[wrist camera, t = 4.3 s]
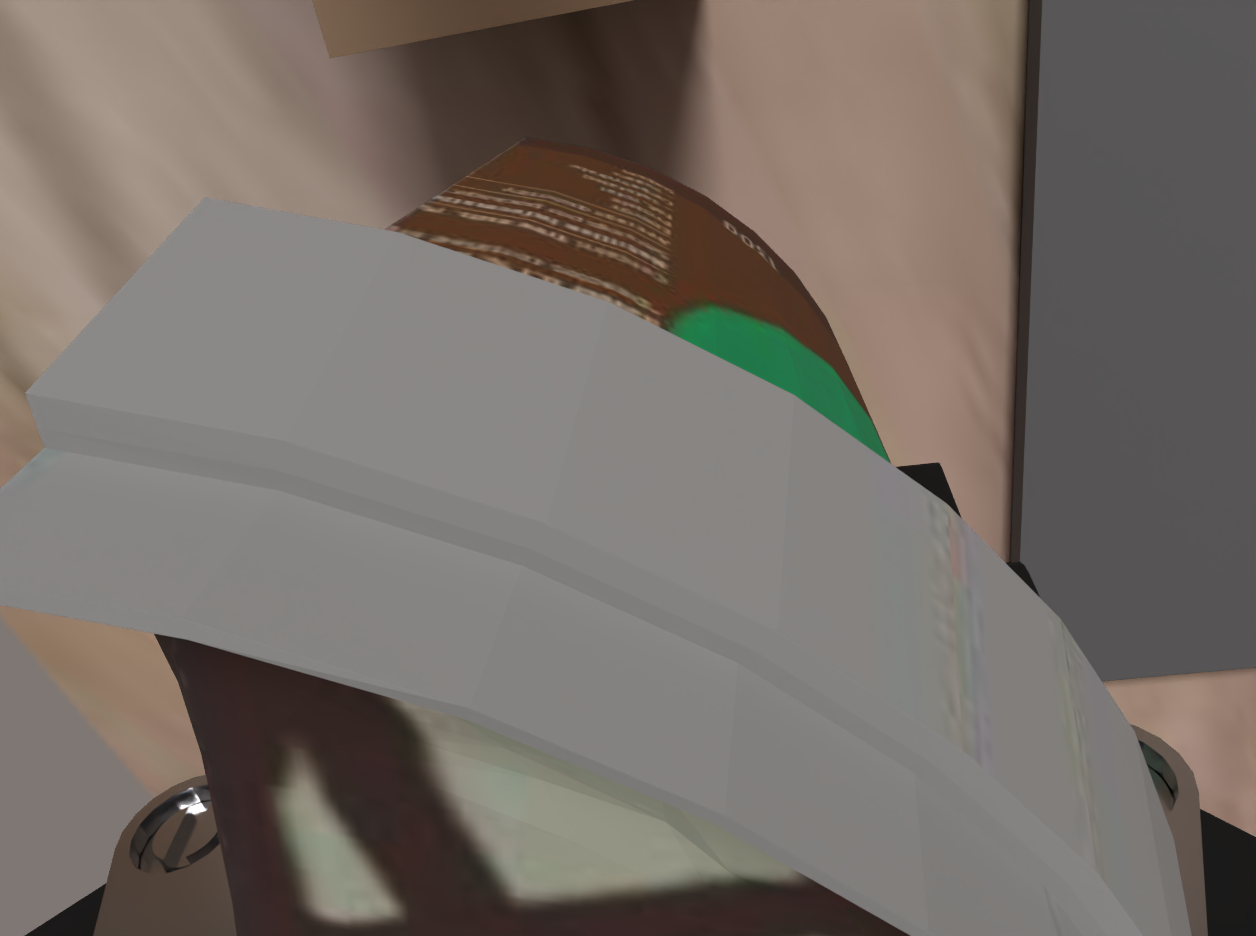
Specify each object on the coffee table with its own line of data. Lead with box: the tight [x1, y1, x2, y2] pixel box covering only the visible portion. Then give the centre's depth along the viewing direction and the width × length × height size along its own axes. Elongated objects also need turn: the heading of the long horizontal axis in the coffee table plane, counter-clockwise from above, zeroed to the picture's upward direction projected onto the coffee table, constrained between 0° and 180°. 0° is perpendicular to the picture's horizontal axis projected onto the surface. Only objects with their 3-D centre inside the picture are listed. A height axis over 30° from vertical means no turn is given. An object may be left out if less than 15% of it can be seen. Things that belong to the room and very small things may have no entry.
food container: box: [0, 137, 1192, 936], centre depth 10 cm, size 12×6×10 cm, turn 176°
